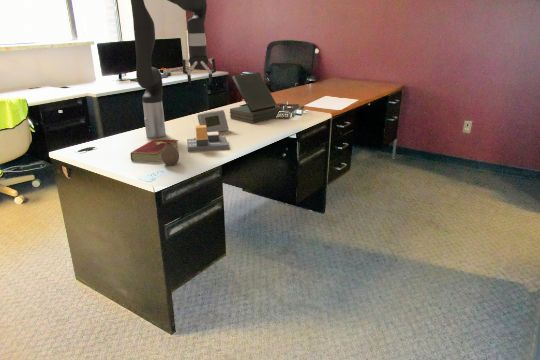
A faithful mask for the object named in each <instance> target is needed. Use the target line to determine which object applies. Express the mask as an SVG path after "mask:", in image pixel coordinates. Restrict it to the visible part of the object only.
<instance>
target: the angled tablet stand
mask: <svg viewBox="0 0 540 360" xmlns="http://www.w3.org/2000/svg"><path fill="white" fill-rule="evenodd" d="M231 78H232V80H233V82H234V84H235V86H236V88H237V90H238V91H239V94H240V95H241V98H242V99H243V101H244V103H245V104H246V105H240V106H236V107H230V108H229V113H230V114H229V117H230V120H234V121H235V120H236V121H239V122H242V123H243V122H244V123H247V124H250V125H251V124H252V125H254V124H258V123H263V122H268V121H271V120H276V119H277V118H276V116H277V114H278V112H279V111H281V112H282V107H281V106H277V105H278V104H277V103H276V100H275V98H274V97H273V95H272V93H271V92H270V90H269V88H268V86H267V85H266V83H265V80H264V79H263V78H262V75H261V73H260V72H259V71H258V72H250V73H243V74H235V75H233V76H232V77H231Z"/></svg>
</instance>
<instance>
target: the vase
mask: <svg viewBox="0 0 540 360" xmlns="http://www.w3.org/2000/svg"><path fill="white" fill-rule="evenodd" d="M161 157H162V159H161V160H162V162H163V164H165V165H166V166H170V167H171V166H176V165H177V164H178V163H179V160H180V153H179V150H178V148H175V147H174V146H173V144H172V143H166V145H165V147H164V148H163V150H162V153H161Z"/></svg>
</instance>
